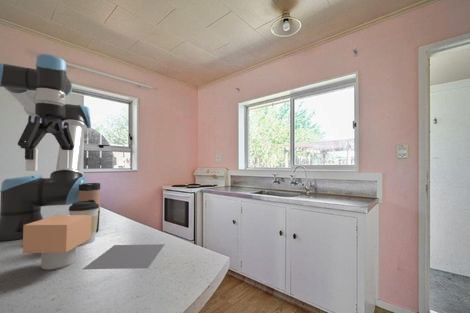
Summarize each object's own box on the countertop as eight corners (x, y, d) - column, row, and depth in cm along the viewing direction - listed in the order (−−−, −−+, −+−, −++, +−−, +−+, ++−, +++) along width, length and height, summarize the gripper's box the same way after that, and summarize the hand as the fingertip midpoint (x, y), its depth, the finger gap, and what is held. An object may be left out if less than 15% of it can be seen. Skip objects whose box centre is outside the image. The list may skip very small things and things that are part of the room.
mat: (114, 246, 74) (114, 245, 74) (164, 246, 75) (164, 244, 75) (82, 271, 57) (82, 269, 57) (147, 270, 58) (147, 267, 58)
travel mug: (102, 231, 91) (104, 183, 92) (82, 236, 85) (83, 185, 85) (93, 228, 95) (95, 182, 96) (73, 233, 89) (75, 184, 89)
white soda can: (36, 275, 55) (38, 227, 56) (45, 263, 62) (47, 220, 62) (72, 268, 59) (74, 224, 59) (77, 258, 65) (78, 218, 66)
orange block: (54, 238, 66) (55, 215, 66) (91, 238, 66) (91, 215, 66) (22, 253, 55) (23, 225, 55) (66, 252, 56) (66, 224, 56)
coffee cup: (82, 249, 72) (83, 204, 72) (60, 247, 74) (61, 202, 74) (104, 240, 81) (105, 199, 81) (83, 238, 83) (84, 198, 83)
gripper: (30, 94, 59) (28, 172, 59) (86, 112, 84) (84, 167, 84) (0, 93, 58) (-2, 172, 58) (65, 111, 83) (64, 167, 83)
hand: (49, 169), depth 71 cm, fingers open, 13 cm apart
